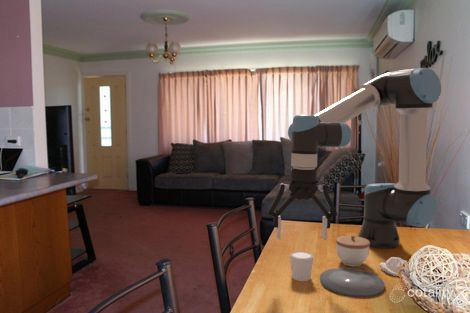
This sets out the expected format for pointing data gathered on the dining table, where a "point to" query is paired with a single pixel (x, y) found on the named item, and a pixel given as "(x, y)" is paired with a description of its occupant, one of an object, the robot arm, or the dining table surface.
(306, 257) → the white cup
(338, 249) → the lidded jar
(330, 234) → the dining table surface
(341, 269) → the dish
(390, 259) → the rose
